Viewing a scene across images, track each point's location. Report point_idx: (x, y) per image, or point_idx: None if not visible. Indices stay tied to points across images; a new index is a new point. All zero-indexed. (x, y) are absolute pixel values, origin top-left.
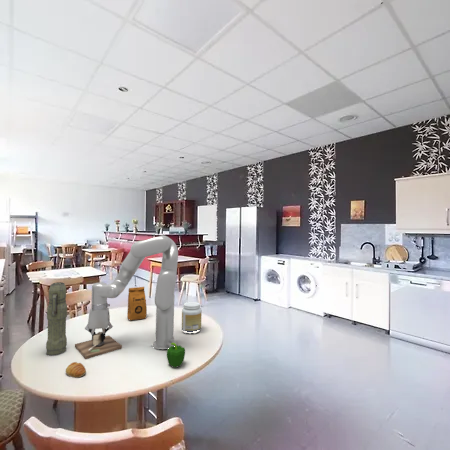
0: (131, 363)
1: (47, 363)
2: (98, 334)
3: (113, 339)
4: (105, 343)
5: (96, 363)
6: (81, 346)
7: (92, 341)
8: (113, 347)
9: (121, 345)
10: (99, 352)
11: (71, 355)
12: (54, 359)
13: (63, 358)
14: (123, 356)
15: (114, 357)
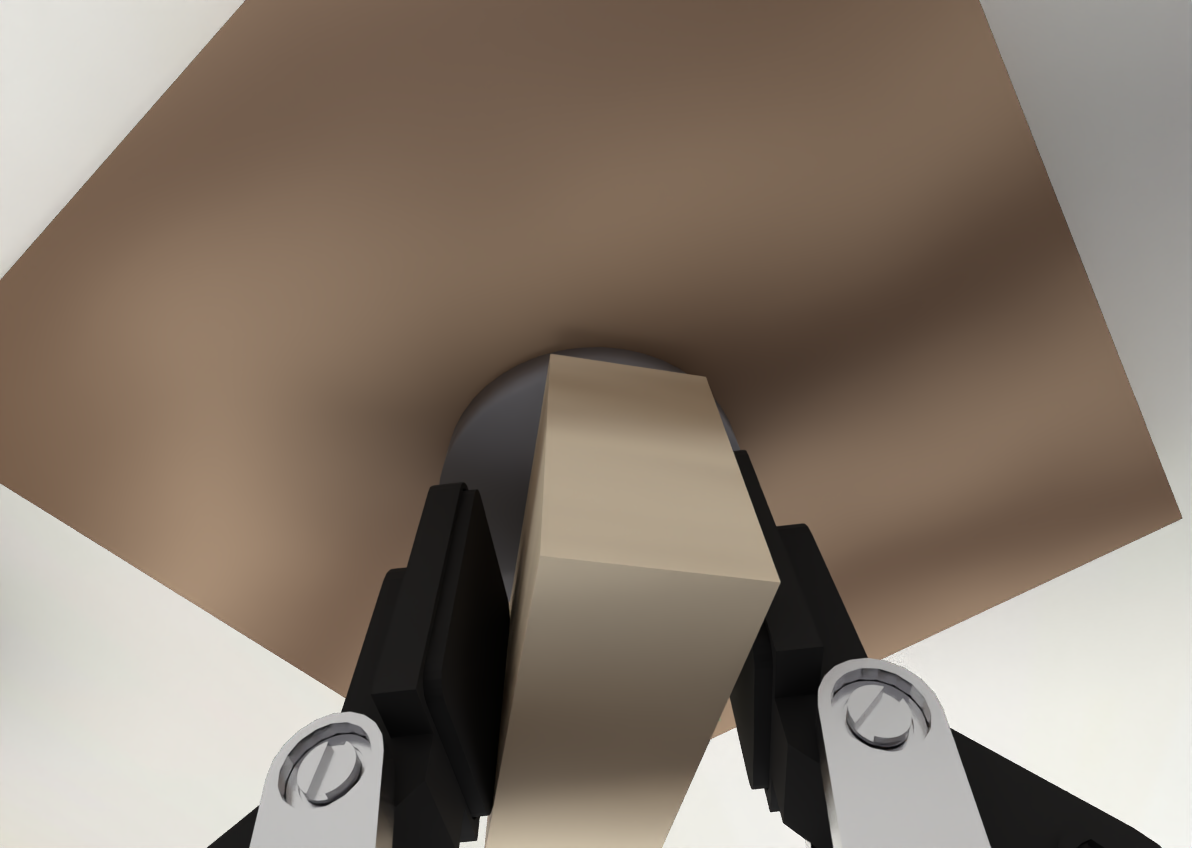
0: (1177, 830)
1: (65, 839)
2: (620, 778)
3: (986, 80)
4: (761, 394)
5: (736, 834)
6: (203, 539)
7: (296, 241)
8: (979, 587)
9: (1171, 504)
10: (725, 726)
11: (226, 684)
12: (55, 771)
13: (172, 751)
14: (1108, 709)
15: (967, 730)
